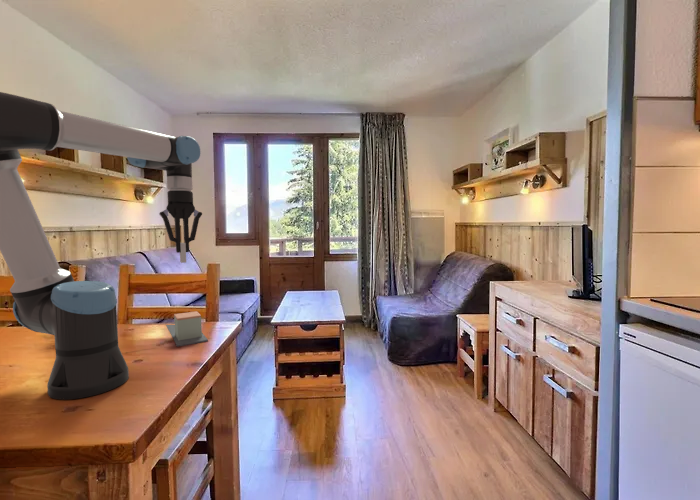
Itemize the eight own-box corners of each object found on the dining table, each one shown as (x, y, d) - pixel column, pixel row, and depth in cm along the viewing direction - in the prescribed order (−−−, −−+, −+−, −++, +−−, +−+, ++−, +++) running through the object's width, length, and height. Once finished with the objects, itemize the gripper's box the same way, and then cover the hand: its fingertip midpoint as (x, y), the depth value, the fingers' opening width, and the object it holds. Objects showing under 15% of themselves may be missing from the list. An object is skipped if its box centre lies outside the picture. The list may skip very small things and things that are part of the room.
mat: (208, 341, 115) (208, 339, 115) (176, 346, 110) (176, 345, 110) (192, 322, 138) (192, 320, 138) (165, 325, 133) (165, 324, 133)
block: (196, 311, 123) (197, 331, 124) (174, 314, 120) (175, 335, 120) (201, 315, 118) (201, 336, 118) (177, 318, 114) (178, 340, 114)
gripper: (199, 192, 126) (201, 260, 128) (156, 190, 119) (160, 262, 120) (203, 190, 120) (206, 261, 121) (159, 188, 113) (162, 264, 114)
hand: (183, 262), depth 121 cm, fingers closed
